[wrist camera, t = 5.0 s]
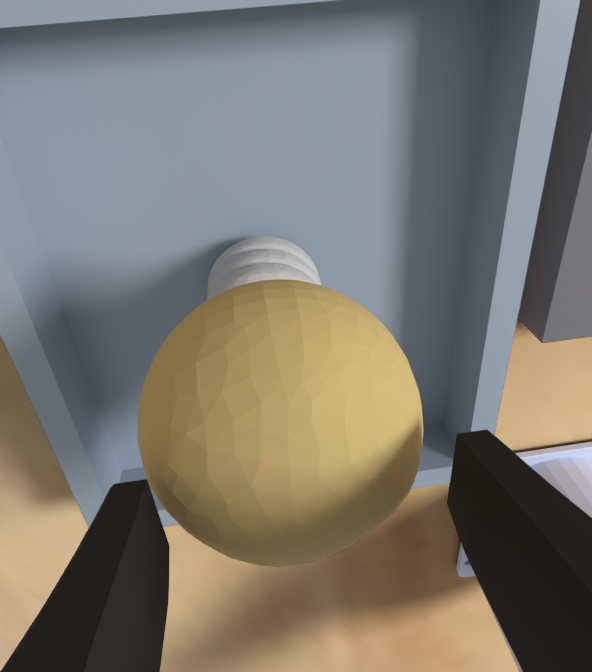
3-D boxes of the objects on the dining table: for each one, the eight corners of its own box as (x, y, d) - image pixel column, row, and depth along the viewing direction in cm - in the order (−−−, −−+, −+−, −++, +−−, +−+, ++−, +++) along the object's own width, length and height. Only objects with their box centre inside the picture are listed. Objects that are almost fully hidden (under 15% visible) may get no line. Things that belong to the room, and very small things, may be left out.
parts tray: (457, 428, 24) (486, 477, 21) (106, 479, 23) (93, 537, 20) (527, -61, 14) (594, -75, 11) (-88, -14, 13) (-162, -18, 10)
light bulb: (249, 382, 20) (266, 654, 12) (126, 268, 17) (33, 533, 9) (387, 290, 19) (518, 531, 10) (280, 144, 15) (347, 326, 7)
